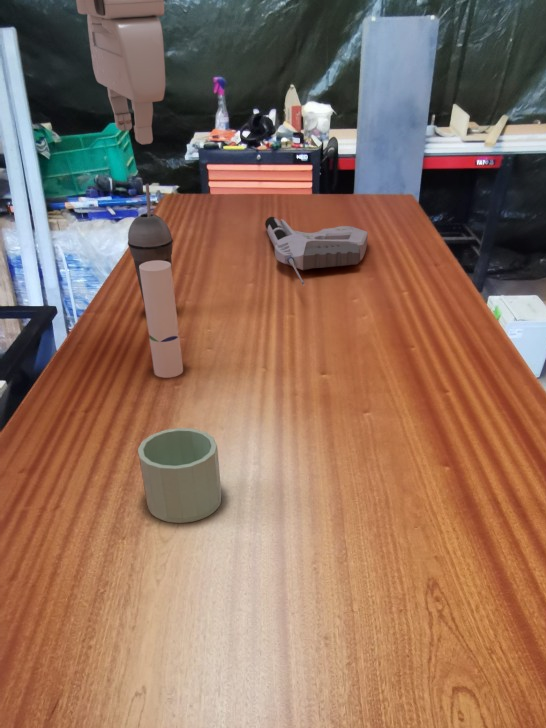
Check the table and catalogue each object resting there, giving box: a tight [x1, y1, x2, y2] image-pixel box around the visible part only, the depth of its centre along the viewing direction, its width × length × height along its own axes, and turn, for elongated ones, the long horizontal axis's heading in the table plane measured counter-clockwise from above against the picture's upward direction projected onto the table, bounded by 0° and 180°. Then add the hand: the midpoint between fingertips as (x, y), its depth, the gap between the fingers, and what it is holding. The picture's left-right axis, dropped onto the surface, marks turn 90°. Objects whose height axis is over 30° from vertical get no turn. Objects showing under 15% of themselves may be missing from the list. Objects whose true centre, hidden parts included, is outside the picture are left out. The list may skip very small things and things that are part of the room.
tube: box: [139, 260, 184, 379], centre depth 104 cm, size 4×4×15 cm
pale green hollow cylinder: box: [137, 427, 222, 524], centre depth 82 cm, size 8×8×7 cm
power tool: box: [264, 216, 369, 287], centre depth 142 cm, size 45×5×20 cm
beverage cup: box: [127, 183, 174, 307], centre depth 120 cm, size 7×7×20 cm
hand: (134, 136), depth 92 cm, fingers open, 8 cm apart
